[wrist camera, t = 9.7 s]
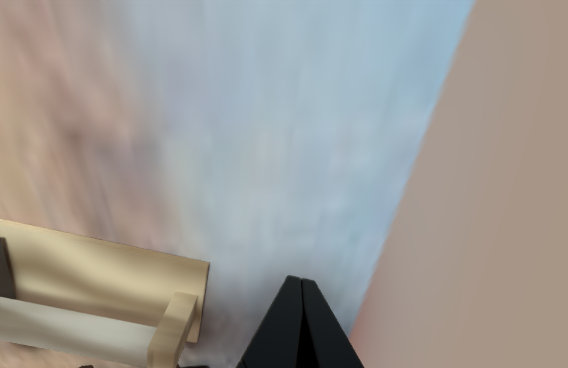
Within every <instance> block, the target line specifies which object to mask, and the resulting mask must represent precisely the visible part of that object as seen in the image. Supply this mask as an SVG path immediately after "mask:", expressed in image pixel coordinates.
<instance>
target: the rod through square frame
mask: <svg viewBox="0 0 568 368" xmlns="http://www.w3.org/2000/svg"><path fill="white" fill-rule="evenodd" d="M0 238H1V242H2V246H3V250H4V254H5V258H6V262H7V266H8V270H9V274H10V278H11V282H12V286H13V290H14V294H15V299H16V300H14V299H9V298H4V297H0V340H2V341H7V342H12V343H17V344H23V345H28V346H33V347H38V348H44V349H49V350H54V351H59V352H65V353H70V354H75V355H81V356H86V357H91V358H96V359H102V360H107V361H112V362H117V363H123V364H128V365H133V366H138V367H144V368H176V366H177V363H178V361H179V358H180V356H181V353H182V350H183V348H184V345H185V342H186V341H188V342H193V343H197V340H198V337H199V330H200V323H201V316H202V309H203V303H204V296H205V289H206V282H207V275H208V269H209V262H204V261H199V260H194V259H190V258H185V257H180V256H175V255H171V254H166V253H161V252H156V251H151V250H147V249H142V248H137V247H132V246H128V245H123V244H118V243H113V242H109V241H104V240H99V239H94V238H90V237H85V236H80V235H75V234H71V233H66V232H61V231H56V230H51V229H47V228H42V227H37V226H32V225H28V224H23V223H18V222H13V221H9V220H4V219H0Z"/></svg>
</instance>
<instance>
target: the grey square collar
mask: <svg viewBox="0 0 568 368" xmlns="http://www.w3.org/2000/svg"><path fill="white" fill-rule="evenodd" d="M0 297H4V298H9V299H14V300H16V299H15V294H14V290H13V286H12V282H11V278H10V274H9V270H8V266H7V262H6V258H5V254H4V250H3V246H2V242H1V238H0Z"/></svg>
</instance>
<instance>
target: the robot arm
mask: <svg viewBox="0 0 568 368" xmlns="http://www.w3.org/2000/svg"><path fill="white" fill-rule="evenodd" d="M236 368H364V366H363V365H362V363H361V361H360V359H359V358H358V356H357V354H356V352H355V350H354V349H353V347H352V345H351V343H350V342H349V340H348V338H347V336H346V335H345V333H344V331H343V330H342V328H341V326H340V324H339V323H338V321H337V319H336V317H335V316H334V314H333V312H332V310H331V309H330V307H329V305H328V303H327V302H326V300H325V298H324V296H323V295H322V293H321V291H320V289H319V288H318V286H317V284H316V282H315V281H314V280H310V279H305V278H302V279H300V278H299V277H296V276H291V275H288V276H287V277H286V279H285V281H284V283H283V285H282V286H281V288H280V290H279V292H278V293H277V295H276V297H275V299H274V301H273V302H272V304H271V306H270V308H269V310H268V311H267V313H266V315H265V317H264V318H263V320H262V322H261V324H260V326H259V327H258V329H257V331H256V333H255V335H254V336H253V338H252V340H251V342H250V343H249V345H248V347H247V349H246V351H245V352H244V354H243V356H242V358H241V360H240V362H239V363H238V365H237V366H236Z"/></svg>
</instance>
